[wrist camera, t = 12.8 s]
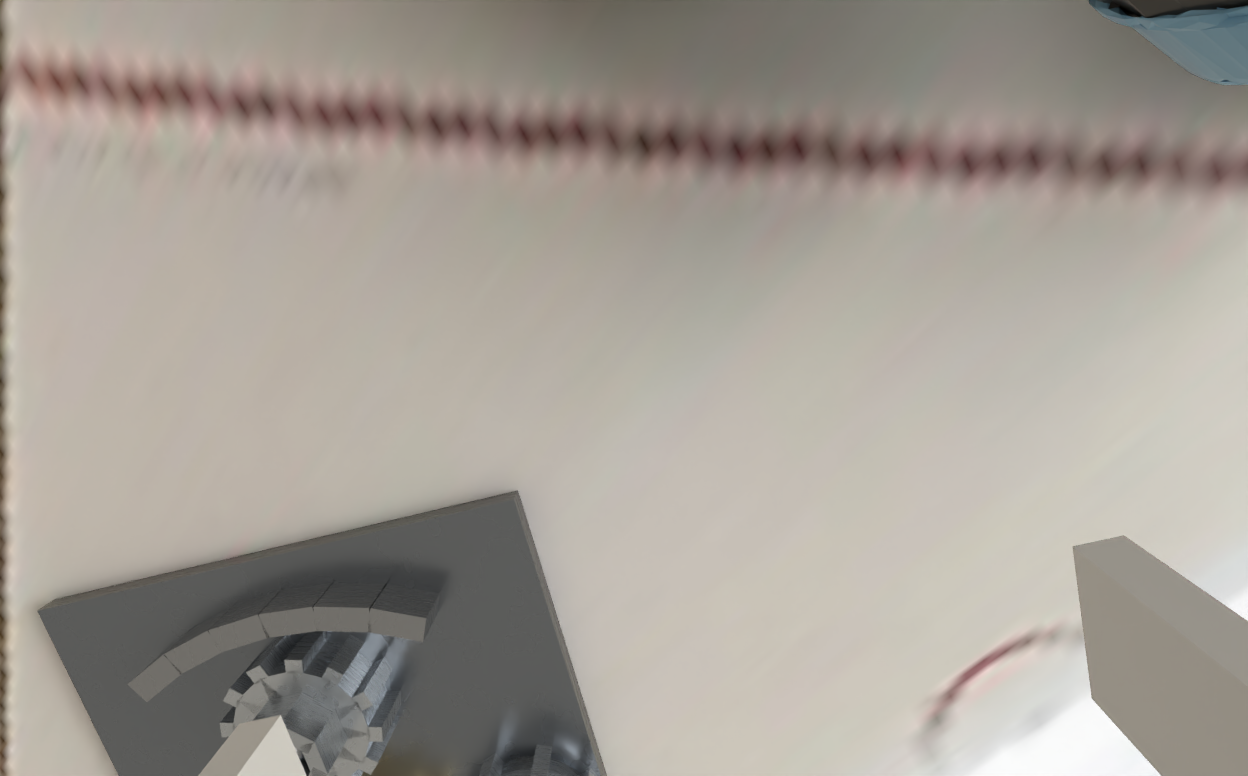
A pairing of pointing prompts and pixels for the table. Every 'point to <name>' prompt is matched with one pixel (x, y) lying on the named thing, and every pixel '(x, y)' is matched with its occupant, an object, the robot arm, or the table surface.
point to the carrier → (342, 605)
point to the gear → (320, 702)
